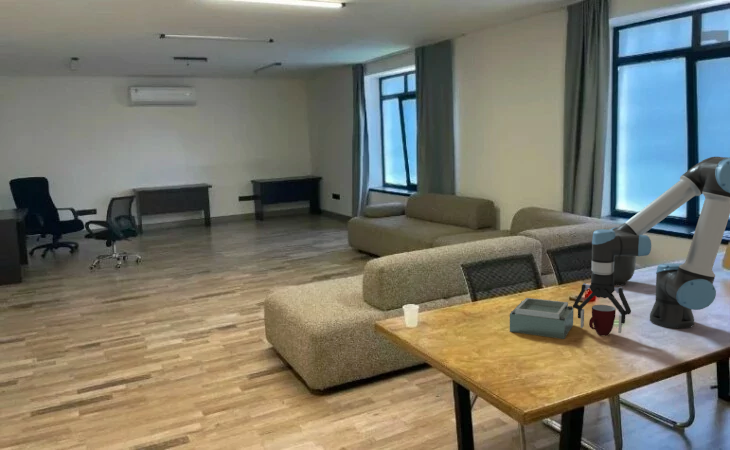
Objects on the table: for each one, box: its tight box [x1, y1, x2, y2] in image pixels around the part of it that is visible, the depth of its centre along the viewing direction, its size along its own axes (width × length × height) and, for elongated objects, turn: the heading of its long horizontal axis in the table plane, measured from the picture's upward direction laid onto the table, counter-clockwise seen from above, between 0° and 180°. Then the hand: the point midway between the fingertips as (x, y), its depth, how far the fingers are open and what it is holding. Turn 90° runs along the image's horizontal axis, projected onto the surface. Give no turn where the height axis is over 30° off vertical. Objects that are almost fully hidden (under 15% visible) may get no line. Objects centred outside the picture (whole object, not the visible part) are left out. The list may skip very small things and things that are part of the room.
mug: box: [588, 304, 617, 337], centre depth 208 cm, size 11×8×10 cm
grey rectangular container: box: [509, 297, 575, 340], centre depth 218 cm, size 20×17×9 cm
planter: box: [613, 256, 637, 286], centre depth 275 cm, size 17×17×16 cm
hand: (600, 329), depth 209 cm, fingers open, 12 cm apart
